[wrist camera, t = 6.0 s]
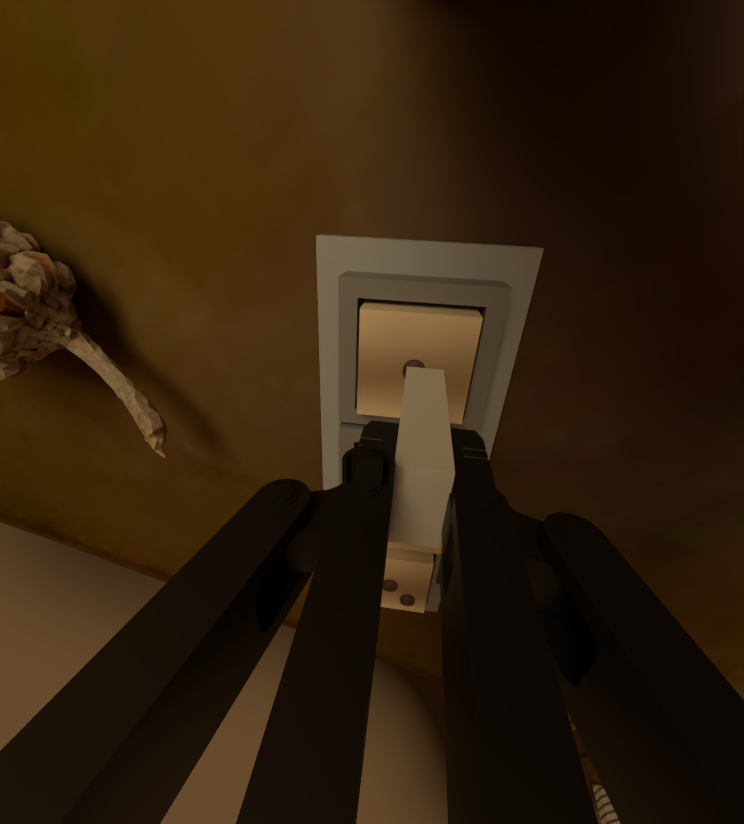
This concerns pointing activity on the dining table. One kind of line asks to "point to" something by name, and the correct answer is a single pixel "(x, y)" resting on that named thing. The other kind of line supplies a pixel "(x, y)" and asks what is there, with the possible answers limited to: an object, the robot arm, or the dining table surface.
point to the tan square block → (414, 352)
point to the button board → (428, 283)
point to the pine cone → (55, 325)
